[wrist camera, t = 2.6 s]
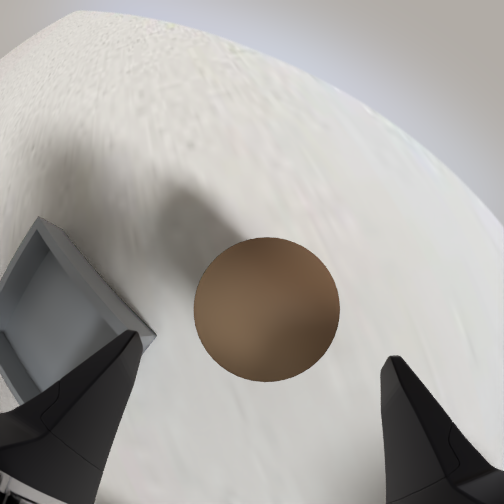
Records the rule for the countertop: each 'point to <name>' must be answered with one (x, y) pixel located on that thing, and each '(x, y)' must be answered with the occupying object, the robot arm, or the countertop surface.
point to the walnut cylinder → (266, 309)
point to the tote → (55, 312)
